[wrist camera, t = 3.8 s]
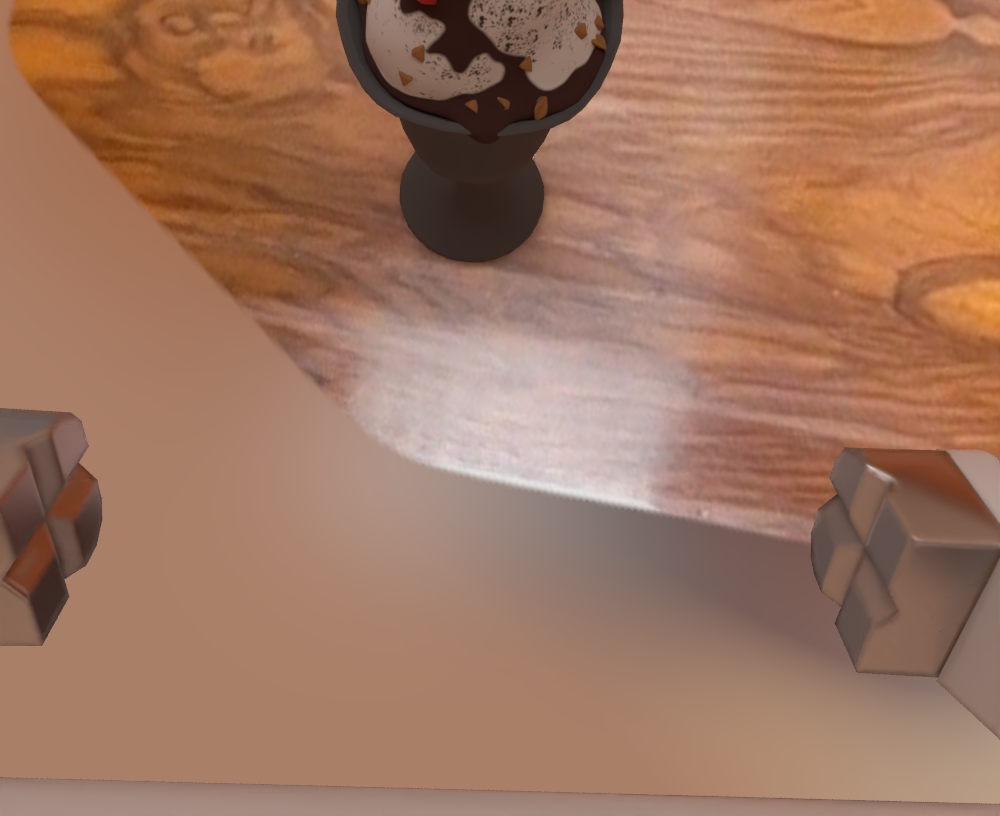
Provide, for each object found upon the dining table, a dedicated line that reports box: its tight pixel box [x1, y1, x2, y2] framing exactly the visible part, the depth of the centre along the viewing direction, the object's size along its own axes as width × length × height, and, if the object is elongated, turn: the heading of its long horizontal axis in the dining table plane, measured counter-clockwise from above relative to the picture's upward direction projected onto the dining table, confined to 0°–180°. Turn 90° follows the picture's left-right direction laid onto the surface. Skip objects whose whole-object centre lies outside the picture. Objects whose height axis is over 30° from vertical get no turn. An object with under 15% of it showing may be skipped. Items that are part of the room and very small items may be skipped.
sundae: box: [336, 0, 623, 262], centre depth 23 cm, size 7×7×15 cm
